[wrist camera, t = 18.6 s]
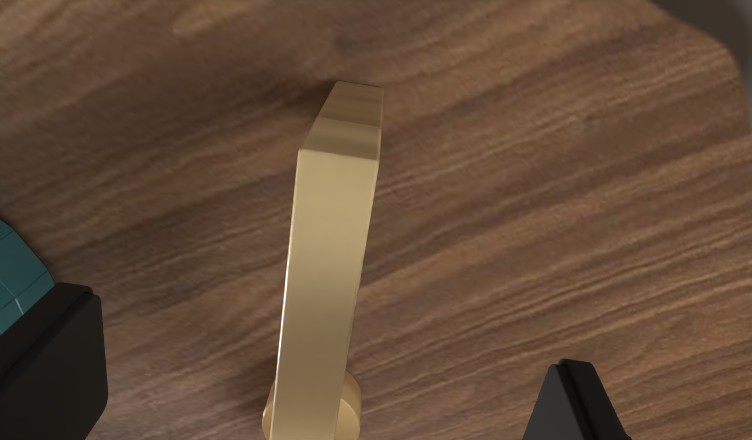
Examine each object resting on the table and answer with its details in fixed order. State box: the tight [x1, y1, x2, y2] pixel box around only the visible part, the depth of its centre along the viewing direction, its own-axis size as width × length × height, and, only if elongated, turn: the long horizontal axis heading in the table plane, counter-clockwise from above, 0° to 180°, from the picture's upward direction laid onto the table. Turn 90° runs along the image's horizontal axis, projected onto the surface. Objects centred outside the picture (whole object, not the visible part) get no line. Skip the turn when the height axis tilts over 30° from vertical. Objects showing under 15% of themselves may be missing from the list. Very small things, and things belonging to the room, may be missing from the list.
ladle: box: [262, 81, 384, 440], centre depth 19 cm, size 17×4×9 cm, turn 171°
